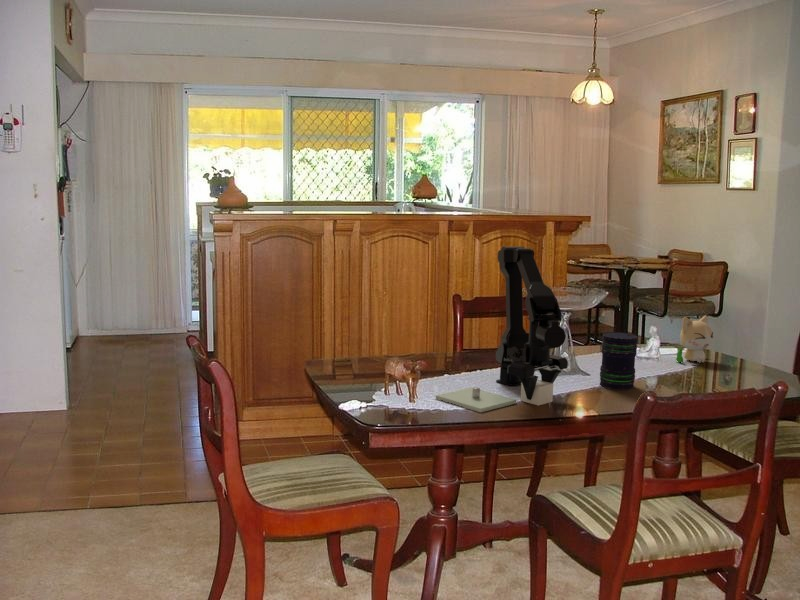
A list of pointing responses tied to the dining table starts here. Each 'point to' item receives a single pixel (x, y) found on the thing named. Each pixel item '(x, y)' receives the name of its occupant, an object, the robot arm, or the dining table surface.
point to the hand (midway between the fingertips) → (536, 397)
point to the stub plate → (476, 399)
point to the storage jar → (618, 360)
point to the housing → (539, 393)
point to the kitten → (695, 339)
